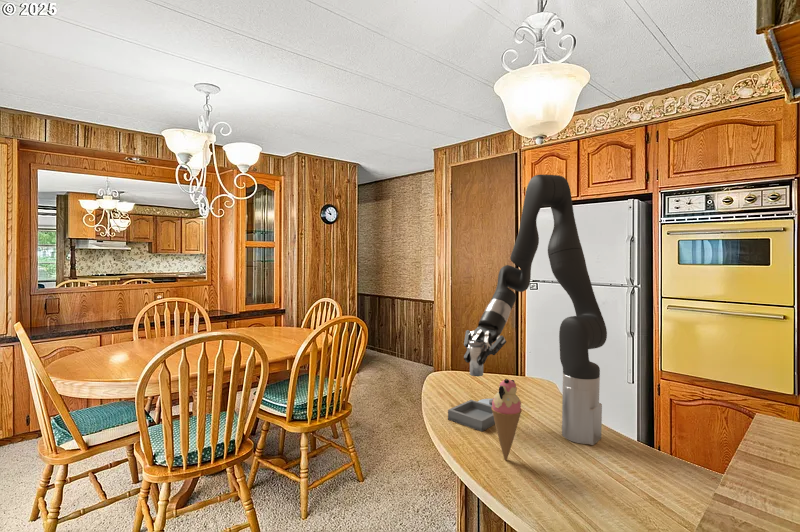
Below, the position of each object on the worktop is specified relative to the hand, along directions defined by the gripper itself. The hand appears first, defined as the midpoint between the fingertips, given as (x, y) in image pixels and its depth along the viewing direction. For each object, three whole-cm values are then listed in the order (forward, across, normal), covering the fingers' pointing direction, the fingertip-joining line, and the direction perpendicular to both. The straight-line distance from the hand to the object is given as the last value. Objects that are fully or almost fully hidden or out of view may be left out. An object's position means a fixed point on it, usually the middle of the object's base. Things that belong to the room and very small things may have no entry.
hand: (472, 362), depth 125 cm
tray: (+11, 0, +14) cm, 18 cm away
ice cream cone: (+22, +19, +3) cm, 29 cm away
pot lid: (+3, -1, +22) cm, 22 cm away
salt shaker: (+2, 0, +4) cm, 4 cm away
